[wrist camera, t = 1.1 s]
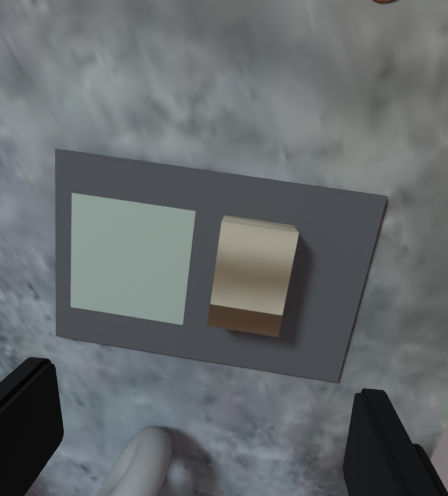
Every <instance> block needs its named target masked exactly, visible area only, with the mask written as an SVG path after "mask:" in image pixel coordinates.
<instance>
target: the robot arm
mask: <svg viewBox="0 0 448 496" xmlns="http://www.w3.org/2000/svg"><path fill="white" fill-rule="evenodd" d="M63 434H64V429H63V421H62V414H61V406H60V398H59V391H58V383H57V376H56V368H55V365H54V364H51V361H50V360H49V359H46V358H36V357H30V358H28V359H26V360H25V361H24V362H23V363H22V364H20V365H19V366H18V367H17V368H16V369H15V370H14V371H13V372H11V373H10V374H9V375H8V376H7V377H6V378H5V379H3V380H2V381H1V382H0V496H24V495H25V494H26V493H27V491H28V490H29V488H30V487H31V485H32V484H33V482H34V481H35V480H36V478H37V477H38V475H39V474H40V472H41V471H42V469H43V468H44V467H45V465H46V464H47V462H48V461H49V459H50V458H51V456H52V455H53V454H54V452H55V451H56V449H57V448H58V446H59V445H60V443H61V441H62V438H63ZM343 471H344V478H345V482H346V486H347V490H348V494H349V496H448V492H447V490H446V488H445V487H444V485H443V483H442V481H441V479H440V478H439V476H438V474H437V472H436V470H435V468H434V467H433V465H432V463H431V461H430V459H429V458H428V456H427V454H426V452H425V451H424V449H423V448H422V447H421V446H420V445H419V444H412V442H411V440H410V438H409V436H408V434H407V432H406V430H405V428H404V426H403V425H402V423H401V421H400V419H399V417H398V415H397V413H396V411H395V409H394V407H393V405H392V404H391V402H390V400H389V398H388V396H387V394H386V392H385V391H383V390H376V389H366V388H364V389H362V391H361V393H356V394H355V397H354V403H353V409H352V415H351V421H350V427H349V433H348V439H347V445H346V451H345V457H344V463H343Z"/></svg>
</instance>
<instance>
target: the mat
mask: <svg viewBox="0 0 448 496" xmlns="http://www.w3.org/2000/svg"><path fill="white" fill-rule="evenodd" d="M55 183H56V336H58V337H64V338H70V339H76V340H82V341H88V342H94V343H100V344H106V345H112V346H119V347H125V348H131V349H137V350H143V351H149V352H155V353H161V354H167V355H173V356H179V357H185V358H191V359H197V360H203V361H209V362H215V363H221V364H227V365H233V366H240V367H246V368H252V369H258V370H264V371H270V372H276V373H282V374H288V375H294V376H300V377H306V378H312V379H318V380H324V381H330V382H336V383H338V379H339V375H340V372H341V368H342V364H343V360H344V357H345V353H346V349H347V346H348V342H349V338H350V334H351V331H352V327H353V323H354V320H355V316H356V312H357V308H358V305H359V301H360V297H361V293H362V290H363V286H364V282H365V279H366V275H367V271H368V267H369V264H370V260H371V256H372V253H373V249H374V245H375V241H376V238H377V234H378V230H379V226H380V223H381V219H382V215H383V212H384V208H385V204H386V200H387V196H382V195H375V194H368V193H361V192H354V191H347V190H340V189H333V188H326V187H319V186H312V185H305V184H298V183H291V182H284V181H277V180H270V179H263V178H256V177H249V176H242V175H235V174H228V173H221V172H214V171H207V170H200V169H193V168H186V167H179V166H172V165H165V164H158V163H151V162H144V161H137V160H130V159H123V158H116V157H109V156H102V155H95V154H88V153H81V152H74V151H67V150H60V149H55ZM224 215H226V216H232V217H239V218H246V219H253V220H259V221H266V222H273V223H280V224H286V225H293V226H295V228H296V229H297V231H298V232H299V235H298V240H297V245H296V250H295V255H294V260H293V265H292V270H291V275H290V280H289V285H288V290H287V295H286V300H285V305H284V310H283V317H282V322H281V327H280V332H279V337H274V336H268V335H261V334H255V333H249V332H243V331H237V330H230V329H224V328H218V327H212V326H207V322H208V315H209V307H210V302H211V295H212V288H213V281H214V273H215V266H216V259H217V251H218V244H219V237H220V229H221V222H222V219H223V217H224Z"/></svg>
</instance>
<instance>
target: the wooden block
mask: <svg viewBox="0 0 448 496" xmlns="http://www.w3.org/2000/svg"><path fill="white" fill-rule="evenodd" d="M298 235H299V232H298V231H297V229H296V228H295V226H293V225H286V224H280V223H273V222H266V221H259V220H253V219H246V218H239V217H232V216H226V215H224V217H223V219H222V222H221V229H220V237H219V244H218V251H217V259H216V266H215V273H214V281H213V288H212V295H211V302H210V307H209V315H208V322H207V326H212V327H218V328H224V329H230V330H237V331H243V332H249V333H255V334H261V335H268V336H274V337H279V332H280V327H281V322H282V317H283V310H284V305H285V300H286V295H287V290H288V285H289V280H290V275H291V270H292V265H293V260H294V255H295V250H296V245H297V240H298Z"/></svg>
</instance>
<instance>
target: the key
mask: <svg viewBox="0 0 448 496" xmlns="http://www.w3.org/2000/svg"><path fill="white" fill-rule="evenodd" d="M373 1H374V2H377V3H387V2H390V1H392V0H373Z"/></svg>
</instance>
